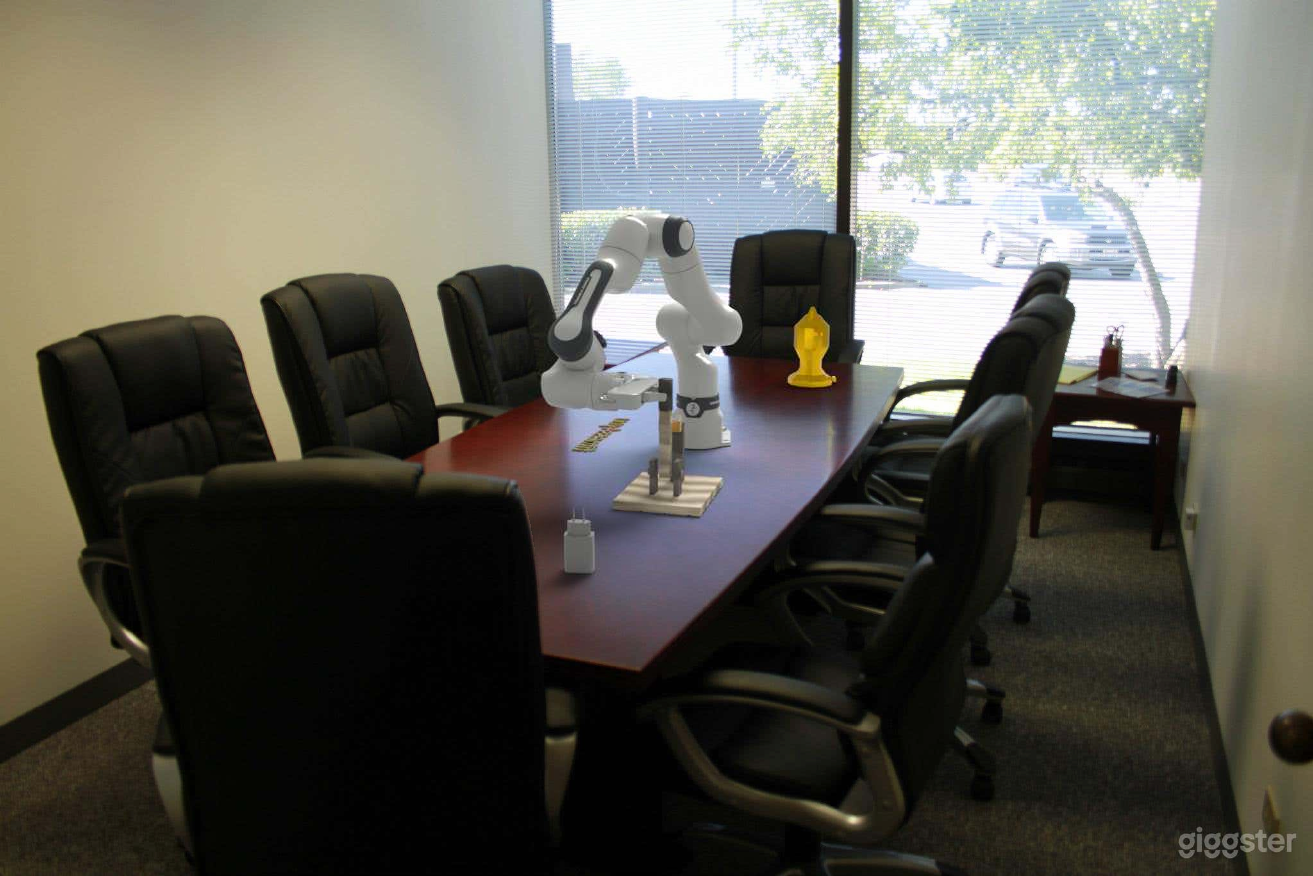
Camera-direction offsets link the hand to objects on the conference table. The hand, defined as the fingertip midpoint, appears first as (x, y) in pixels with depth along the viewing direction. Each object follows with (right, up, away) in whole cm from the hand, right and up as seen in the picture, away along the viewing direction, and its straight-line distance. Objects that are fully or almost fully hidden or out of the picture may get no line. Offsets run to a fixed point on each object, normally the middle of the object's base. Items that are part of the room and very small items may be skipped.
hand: (669, 394), depth 217 cm
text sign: (-19, -9, +68) cm, 71 cm away
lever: (-1, -17, +5) cm, 18 cm away
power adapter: (-17, -34, -33) cm, 51 cm away
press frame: (0, -23, +10) cm, 25 cm away
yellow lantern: (+55, +11, +145) cm, 156 cm away
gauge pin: (+1, -7, +10) cm, 12 cm away
